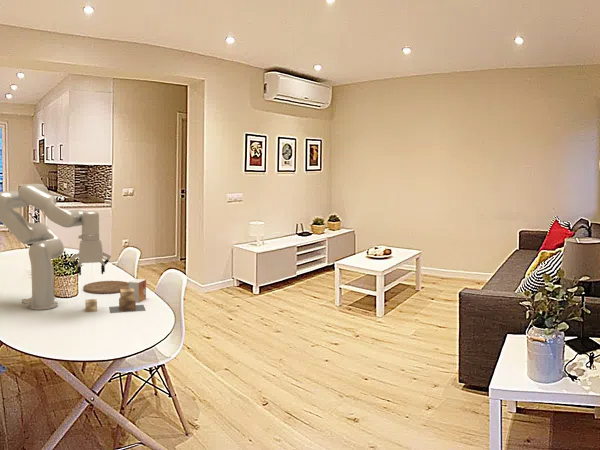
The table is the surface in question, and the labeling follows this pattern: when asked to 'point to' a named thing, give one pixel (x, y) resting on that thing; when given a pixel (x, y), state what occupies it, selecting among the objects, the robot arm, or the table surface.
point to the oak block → (127, 294)
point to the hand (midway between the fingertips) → (91, 274)
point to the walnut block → (127, 305)
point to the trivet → (105, 287)
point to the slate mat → (117, 310)
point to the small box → (138, 289)
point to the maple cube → (90, 305)
